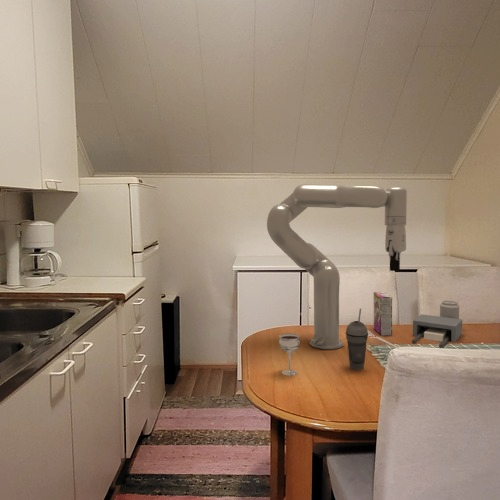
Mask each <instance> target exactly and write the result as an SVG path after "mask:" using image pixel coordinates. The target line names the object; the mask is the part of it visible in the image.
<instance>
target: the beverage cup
mask: <svg viewBox="0 0 500 500" xmlns="http://www.w3.org/2000/svg"><path fill="white" fill-rule="evenodd" d="M361 313H362V308H359V311H358V320H354V321H351V322H350V323H348V325H347V327H346V330H345V336H346V337H345V338H346V342H347V353H348V363H349V368H350V369H351V370H353V371H362V370H364V368H365V362H366V361H365V360H366V350H367V343H368V338H369V337H368V334H369V333H368V332H369V330H368V328H367V326H366V324H365V323H363V322H362V321H360V320H361Z"/></svg>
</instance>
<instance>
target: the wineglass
mask: <svg viewBox="0 0 500 500" xmlns="http://www.w3.org/2000/svg"><path fill="white" fill-rule="evenodd" d="M300 336H301V335H299V334H297V333H292V332H291V333H290V332H288V333H282V334H279V335H278V337H279V340H278V344H279V345H278V346H279V348H280V349H281V350H282V351H284V352H286V353H287V355H288V369H285V370H282V375H285V376H290V377H291V376H295V375H298V371H297V370H294V369H291V364H292V363H291V360H292V359H291V357H292V354H293V352H296V351H297V350H298V349H299V347H300V345H301V341H300Z"/></svg>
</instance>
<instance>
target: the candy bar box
mask: <svg viewBox="0 0 500 500" xmlns="http://www.w3.org/2000/svg"><path fill="white" fill-rule="evenodd" d="M373 329H374V330H375V331H376V333H378V334H379V335H380V337H381V336H383V337H389V336H393V297H392V296H391V295H390V294H389V293H387V292H385V291H373Z"/></svg>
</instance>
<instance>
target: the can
mask: <svg viewBox="0 0 500 500" xmlns="http://www.w3.org/2000/svg"><path fill="white" fill-rule="evenodd" d="M439 317H447V318H455V319H460V306H459V302H457V301H456V300H455V301H454V300H442V301H441V303H440V304H439Z"/></svg>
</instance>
